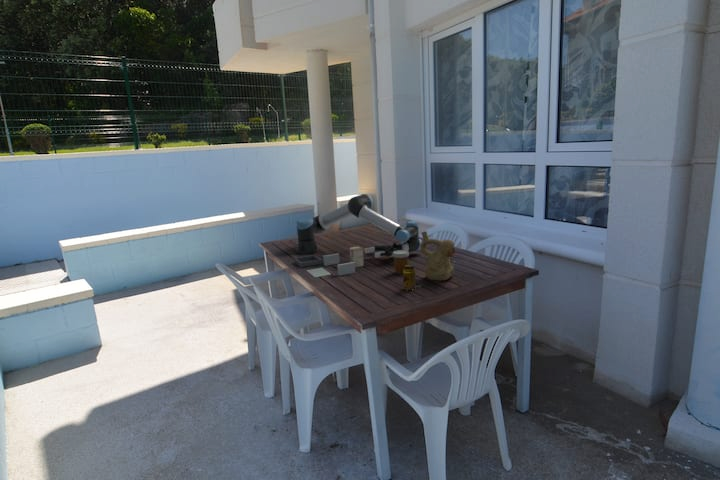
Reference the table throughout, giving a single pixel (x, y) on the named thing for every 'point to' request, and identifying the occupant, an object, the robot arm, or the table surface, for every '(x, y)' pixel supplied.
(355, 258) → the birch block
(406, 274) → the condiment
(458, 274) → the table surface
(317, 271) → the pad
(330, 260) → the walled passage
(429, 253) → the ceramic vessel
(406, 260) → the disposable coffee cup
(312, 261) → the tray
